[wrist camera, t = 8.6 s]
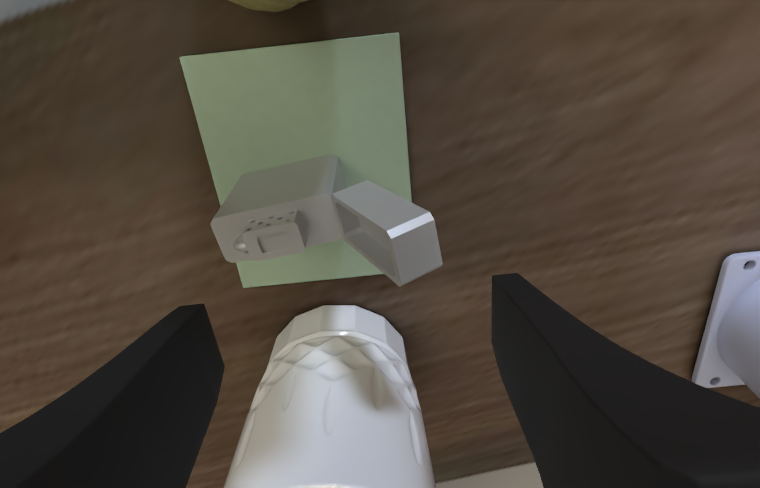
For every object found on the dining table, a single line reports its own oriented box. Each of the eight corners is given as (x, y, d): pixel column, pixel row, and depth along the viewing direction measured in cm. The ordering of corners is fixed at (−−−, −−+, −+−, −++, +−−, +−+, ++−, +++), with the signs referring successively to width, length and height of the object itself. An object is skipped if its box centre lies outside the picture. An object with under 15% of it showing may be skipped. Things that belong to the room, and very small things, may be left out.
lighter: (252, 212, 20) (193, 331, 13) (237, 175, 20) (167, 280, 13) (417, 176, 20) (446, 280, 13) (409, 136, 19) (436, 223, 12)
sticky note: (398, 32, 18) (398, 32, 17) (416, 268, 22) (416, 270, 22) (180, 56, 18) (178, 57, 18) (244, 285, 22) (243, 288, 22)
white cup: (447, 366, 25) (494, 573, 16) (330, 434, 27) (314, 650, 18) (352, 262, 22) (345, 447, 13) (228, 347, 24) (149, 556, 15)
